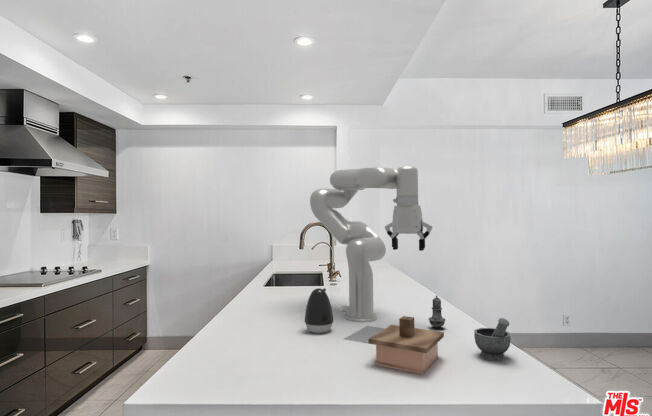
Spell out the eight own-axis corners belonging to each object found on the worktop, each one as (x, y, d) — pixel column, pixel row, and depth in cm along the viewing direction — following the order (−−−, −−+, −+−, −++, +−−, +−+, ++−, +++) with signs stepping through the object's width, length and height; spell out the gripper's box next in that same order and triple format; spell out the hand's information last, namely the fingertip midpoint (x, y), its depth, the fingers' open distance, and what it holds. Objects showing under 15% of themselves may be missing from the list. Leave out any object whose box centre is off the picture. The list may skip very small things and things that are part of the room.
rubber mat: (343, 339, 130) (343, 338, 130) (367, 326, 146) (367, 325, 146) (394, 349, 121) (394, 348, 121) (415, 333, 136) (414, 332, 136)
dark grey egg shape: (338, 329, 143) (337, 286, 143) (326, 337, 133) (325, 292, 133) (312, 326, 147) (312, 285, 147) (299, 334, 137) (298, 289, 138)
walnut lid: (368, 343, 108) (368, 321, 108) (391, 328, 121) (391, 308, 122) (426, 353, 99) (426, 329, 100) (443, 336, 113) (443, 315, 113)
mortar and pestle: (467, 352, 117) (466, 311, 117) (494, 349, 119) (493, 309, 119) (493, 366, 106) (492, 321, 106) (522, 362, 108) (521, 318, 108)
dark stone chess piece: (446, 332, 138) (446, 297, 138) (429, 331, 139) (428, 296, 139) (444, 327, 143) (444, 293, 144) (428, 326, 144) (427, 293, 145)
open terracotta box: (376, 364, 108) (376, 342, 108) (394, 350, 119) (394, 330, 119) (423, 374, 101) (422, 350, 101) (437, 358, 112) (437, 337, 112)
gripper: (380, 202, 142) (381, 250, 142) (428, 200, 133) (429, 251, 133) (388, 202, 149) (389, 248, 148) (434, 201, 140) (435, 250, 139)
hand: (408, 249), depth 141 cm, fingers open, 9 cm apart
